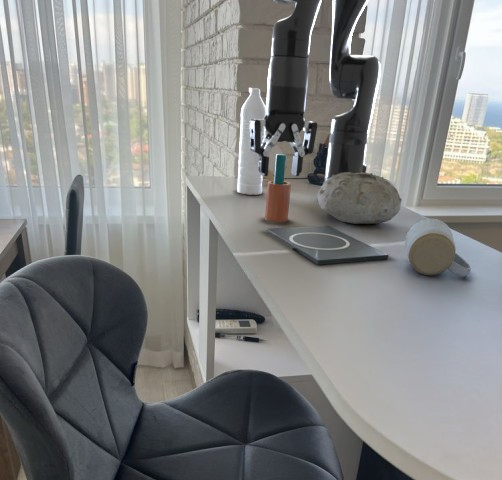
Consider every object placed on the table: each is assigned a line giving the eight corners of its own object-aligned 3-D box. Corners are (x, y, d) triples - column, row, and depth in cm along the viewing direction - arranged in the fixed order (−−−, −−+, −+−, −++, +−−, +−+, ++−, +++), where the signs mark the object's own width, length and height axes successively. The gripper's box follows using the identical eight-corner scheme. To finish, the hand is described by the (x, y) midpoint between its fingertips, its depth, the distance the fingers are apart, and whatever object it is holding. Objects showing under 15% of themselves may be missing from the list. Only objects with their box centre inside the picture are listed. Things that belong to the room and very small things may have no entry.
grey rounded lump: (411, 232, 106) (421, 183, 102) (333, 232, 102) (340, 181, 97) (373, 212, 121) (380, 168, 117) (303, 211, 117) (308, 166, 113)
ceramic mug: (403, 274, 80) (414, 226, 77) (400, 259, 87) (410, 215, 84) (472, 284, 79) (487, 236, 75) (464, 268, 86) (477, 223, 82)
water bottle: (262, 195, 131) (270, 89, 120) (237, 194, 131) (242, 87, 120) (259, 189, 139) (266, 88, 128) (236, 188, 139) (240, 87, 128)
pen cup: (281, 218, 110) (284, 180, 107) (291, 223, 106) (295, 184, 103) (261, 219, 108) (263, 180, 105) (270, 224, 104) (273, 185, 101)
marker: (278, 217, 108) (283, 153, 102) (282, 220, 106) (287, 155, 101) (269, 218, 107) (274, 153, 102) (273, 220, 106) (278, 155, 100)
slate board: (327, 229, 104) (328, 225, 103) (387, 259, 87) (388, 254, 87) (266, 232, 98) (266, 228, 98) (317, 265, 82) (318, 259, 82)
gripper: (261, 82, 90) (255, 179, 97) (330, 87, 95) (319, 178, 103) (244, 81, 96) (240, 172, 103) (310, 86, 101) (302, 172, 109)
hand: (279, 175), depth 103 cm, fingers open, 6 cm apart
